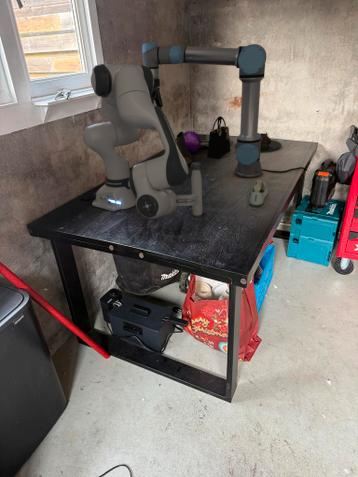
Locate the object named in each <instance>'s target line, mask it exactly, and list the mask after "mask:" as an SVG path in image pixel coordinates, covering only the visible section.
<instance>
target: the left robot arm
mask: <svg viewBox="0 0 358 477" xmlns="http://www.w3.org/2000/svg"><path fill="white" fill-rule="evenodd" d="M90 85H91V87H92V90H93V92H94V94H95V95H96V96H97V97H99V98H100V113H101V114H102V116H103V117H104V118H105V119H106V120H107V121H103V122H97V123H93V124H90V125H89V126H86V127H85V128H84V130H83V133H82V139H83V142H84V144H85V145H86V146H87V148H88V149H90V150H92V151H94V152H95V153H97V154H98V155H99V157H100V158H101V160H102V162H103V165H104V170H105V173H106V174H105V175H106V176H105V177H104V178H102V182H104V184H103V185H102V186H101V187H100V188H99V189H98V190H97V191H96V192H94V193H91V194H89V195H88V197H84V196H82V197H81V199H82V200H85V201H89V200H91V197H93V199H94V200H93V201H92V203H91V204H92V205H91V206H92V207H96V208H99V209H103V210H107V211H111V212H116V211H119V210H120V211H121V210H126V209H130V208H132V207H134V206H135V207H136V210H137V212H138V213H139V214H140V215H141V216H143V217H144V218H146V219H158V218H162V217H164V216H167V215H170V214H172V213H173V212H174V211H175V210H176V209H177V207H191V206H192V205H195V204H198V195H197V194H192V193H183V194H182V193H181V194H176V193H175V191H173V190H171V189H169V188H173V187H177V186H182V185H184V184H185V182H186V180H187V179H188V177H189V175H190V174H189V173H190V172H189V171H190V170H189V166H188V164H187V163H186V161H185V159H184V158H183V156H182V154H181V151H180V149H179V147H178V144H177V140H176V136H175V135H174V132H173V129H172V127H171V125H170V123H169V120H168V118H167V116H166V114H165V112H164V111H163V109H162V110H161V108H160V107H158V106H157V105H153V103H152V102H151V99H150V94H151V93H152V91H153V86H154V78H153V73H152V71H151V70H150V68H149V67H146V66H144V64H143V65H142V64H138V65H136V64H132V63H111V64H110V63H109V64H108V63H107V64H105V63H100V64H97V65H96V64H95V65H94V67H93V68H92V70H91V75H90ZM141 130H154V131H156V132H157V134H158V137H159V139H160V142H161V144H162V148H163V150H164V154H162V155H161V156H158V157H155V158H151V159H149V160H145V161H141V162H139V163H137V164H134V165H132V167H131V168H130V160H129V159H128V157H127V156H126V155H124V154H121V153H120V152H119V153H118V152H116V148H117V147H123V146H127V145H130V144H133V143H136V142H137V141H139V139H140V137H141Z"/></svg>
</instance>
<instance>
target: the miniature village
mask: <svg viewBox="0 0 358 477" xmlns="http://www.w3.org/2000/svg"><path fill="white" fill-rule="evenodd" d="M260 134H261V138H262V139H261V150H260V154H262V153H271V152H276V151H279V150H280V149H281V148H282V143H281V142H279V141H277V140H272V139H271V137H270V136H269V134H268V132H265V133H262V132H260ZM235 148H236V149H237V142H236V144H235Z"/></svg>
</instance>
